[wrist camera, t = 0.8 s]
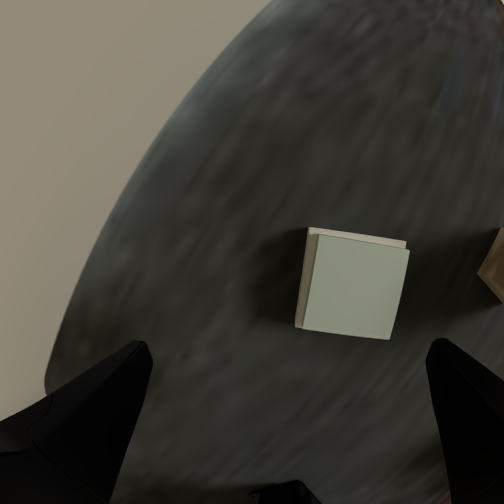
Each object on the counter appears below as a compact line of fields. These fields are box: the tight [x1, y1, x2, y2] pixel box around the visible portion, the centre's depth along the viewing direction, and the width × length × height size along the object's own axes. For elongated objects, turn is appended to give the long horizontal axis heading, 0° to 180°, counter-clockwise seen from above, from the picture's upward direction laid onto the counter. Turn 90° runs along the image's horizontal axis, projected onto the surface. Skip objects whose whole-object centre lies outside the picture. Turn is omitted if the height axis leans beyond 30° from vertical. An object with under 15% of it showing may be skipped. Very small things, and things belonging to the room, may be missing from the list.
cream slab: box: [295, 227, 406, 328], centre depth 21 cm, size 7×7×2 cm
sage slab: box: [302, 233, 410, 340], centre depth 19 cm, size 6×6×2 cm
